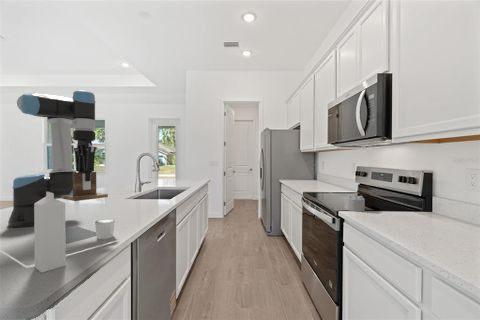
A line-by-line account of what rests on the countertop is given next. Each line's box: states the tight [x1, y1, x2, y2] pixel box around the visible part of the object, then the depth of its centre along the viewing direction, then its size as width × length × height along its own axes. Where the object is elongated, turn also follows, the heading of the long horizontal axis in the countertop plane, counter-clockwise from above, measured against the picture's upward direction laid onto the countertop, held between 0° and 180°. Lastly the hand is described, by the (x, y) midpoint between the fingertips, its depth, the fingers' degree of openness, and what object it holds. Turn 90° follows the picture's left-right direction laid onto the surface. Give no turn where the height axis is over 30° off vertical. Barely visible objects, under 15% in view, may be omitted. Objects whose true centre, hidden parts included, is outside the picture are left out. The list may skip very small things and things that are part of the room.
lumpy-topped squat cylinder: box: [344, 194, 366, 213], centre depth 159 cm, size 10×13×9 cm
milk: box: [33, 192, 67, 273], centre depth 75 cm, size 6×6×22 cm
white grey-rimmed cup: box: [94, 218, 115, 240], centre depth 101 cm, size 7×7×7 cm
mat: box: [65, 226, 97, 245], centre depth 103 cm, size 20×14×1 cm
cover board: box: [60, 171, 109, 202], centre depth 101 cm, size 12×12×10 cm
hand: (85, 189), depth 101 cm, fingers closed on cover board, 2 cm apart
